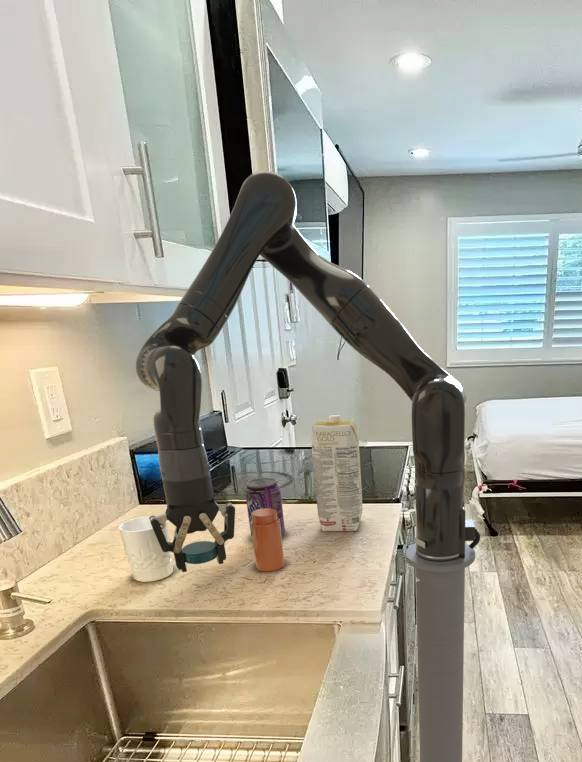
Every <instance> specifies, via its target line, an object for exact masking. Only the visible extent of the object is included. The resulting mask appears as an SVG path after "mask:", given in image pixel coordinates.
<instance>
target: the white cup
mask: <svg viewBox="0 0 582 762" xmlns="http://www.w3.org/2000/svg"><path fill="white" fill-rule="evenodd" d="M151 516H152V515H149V516H148V515H146V516H138V517H135V518H131V519H128V520H126V521H124V522H122V523H120V524H119V525H118V530H119V534H120V537H121V541H122V545H123V548H124V551H125V555H126V557H127V561H128V564H129V566H130V569H131V573H132V577H133V579H134V580H135V581H137V582H143V583H147V582H148V583H149V582H155V581H160V580H163V579H165V578H168V577H169V576H171V574H172V573H174V572H173V571H174V568H173V560H172V556H173V555H172V552H169V551H168V552H163V551H162V549H161V547H160V544H159V542H158V539H157V537H156V535H155V532H154V530H153V528H152V525H151V523H150V520H149V518H150V517H151ZM162 531H163V534H164V536H165V538H166V541H167V542H171V541H170V533H169V527H168V520H167V521H166V522H165V528H163V529H162Z"/></svg>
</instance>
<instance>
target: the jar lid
mask: <svg viewBox="0 0 582 762" xmlns="http://www.w3.org/2000/svg"><path fill="white" fill-rule="evenodd" d="M214 542H215V541H210V540H200V541H194V542H191V543H188V544H186V545H185V546H184V545H183V546H182V551H183V553H184V558H185V564H189V565H202V564H205V563H209V562H212V561H214V560H215V559H217V555H218V554H217V548H216V544H215V543H214Z"/></svg>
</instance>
